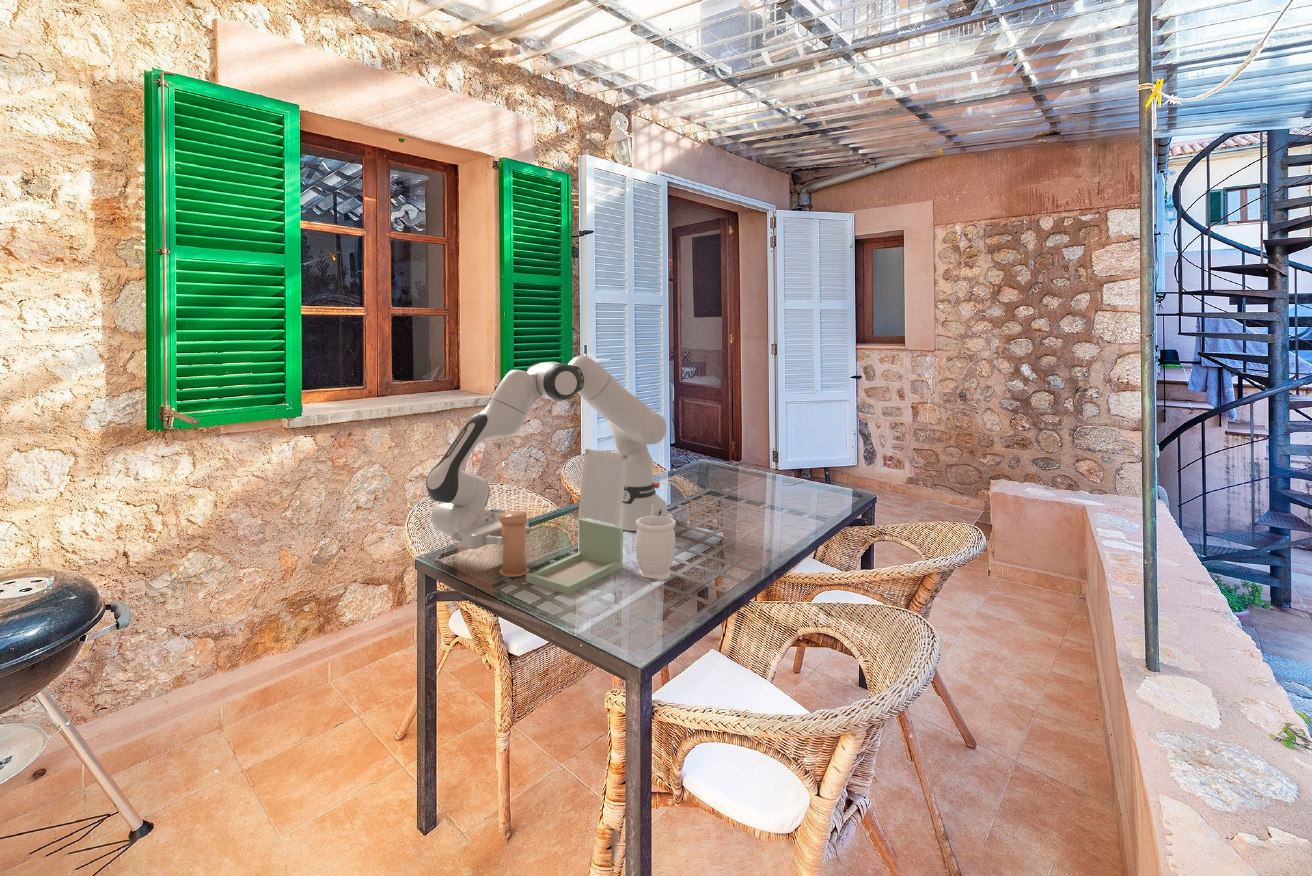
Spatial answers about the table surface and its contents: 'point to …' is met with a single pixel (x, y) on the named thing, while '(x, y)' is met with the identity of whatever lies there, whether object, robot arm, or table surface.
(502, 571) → the terracotta round disc
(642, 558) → the jar
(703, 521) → the table surface
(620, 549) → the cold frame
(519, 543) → the orange-brown capped cylinder
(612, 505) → the lid
